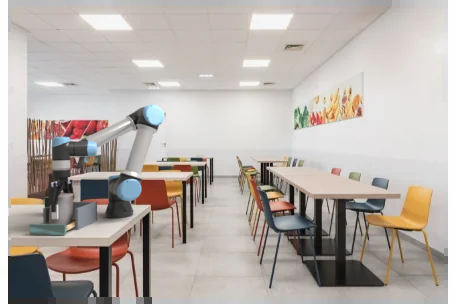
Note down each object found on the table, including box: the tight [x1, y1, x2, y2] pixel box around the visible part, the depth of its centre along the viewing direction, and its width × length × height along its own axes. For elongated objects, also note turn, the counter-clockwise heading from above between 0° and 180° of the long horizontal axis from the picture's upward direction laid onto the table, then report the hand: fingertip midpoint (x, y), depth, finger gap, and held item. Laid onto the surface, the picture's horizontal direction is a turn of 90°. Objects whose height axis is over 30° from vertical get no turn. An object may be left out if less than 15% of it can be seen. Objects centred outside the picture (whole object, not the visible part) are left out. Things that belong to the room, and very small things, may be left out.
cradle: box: [42, 201, 98, 231], centre depth 149 cm, size 18×17×10 cm
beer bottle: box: [44, 173, 55, 208], centre depth 173 cm, size 8×8×24 cm
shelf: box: [29, 218, 76, 236], centre depth 140 cm, size 18×16×4 cm
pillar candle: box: [49, 190, 74, 224], centre depth 141 cm, size 10×10×15 cm
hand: (61, 216), depth 141 cm, fingers closed on pillar candle, 10 cm apart
